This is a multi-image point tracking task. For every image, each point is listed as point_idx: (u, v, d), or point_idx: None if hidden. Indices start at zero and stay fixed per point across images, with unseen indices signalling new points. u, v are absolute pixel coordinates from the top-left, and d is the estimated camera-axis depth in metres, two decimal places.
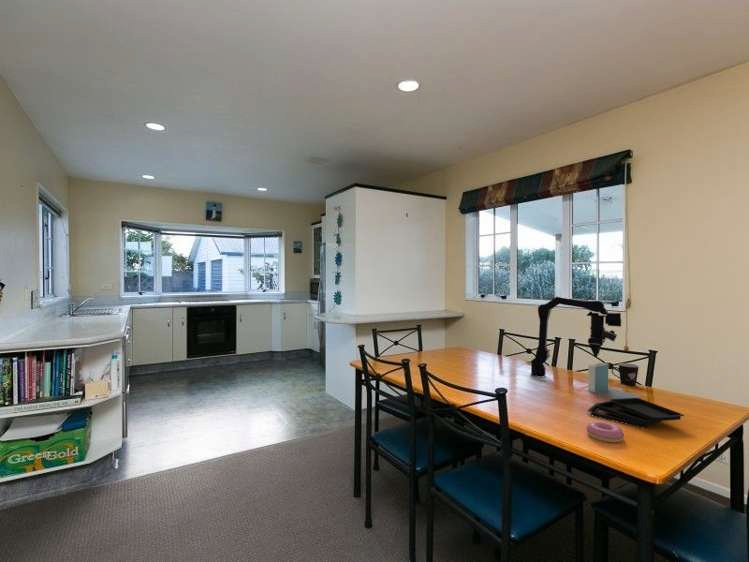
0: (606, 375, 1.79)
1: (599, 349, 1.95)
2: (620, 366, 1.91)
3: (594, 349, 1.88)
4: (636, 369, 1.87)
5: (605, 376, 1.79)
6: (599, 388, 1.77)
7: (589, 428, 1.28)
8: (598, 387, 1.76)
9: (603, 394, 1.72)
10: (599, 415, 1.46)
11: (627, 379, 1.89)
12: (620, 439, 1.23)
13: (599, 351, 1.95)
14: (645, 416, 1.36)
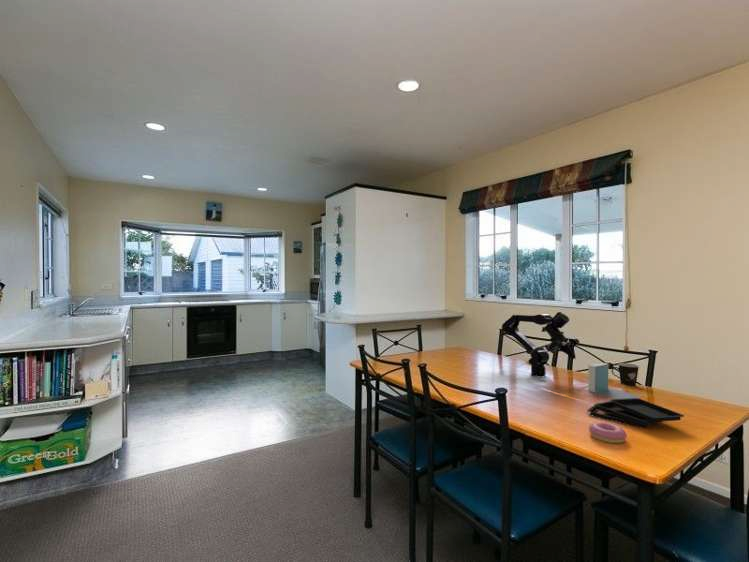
0: (606, 375, 1.79)
1: None
2: (620, 366, 1.91)
3: None
4: (636, 369, 1.87)
5: (605, 376, 1.79)
6: (599, 388, 1.77)
7: (591, 429, 1.28)
8: (598, 387, 1.76)
9: (603, 394, 1.72)
10: (598, 415, 1.46)
11: (627, 379, 1.89)
12: (623, 440, 1.23)
13: None
14: (644, 416, 1.36)
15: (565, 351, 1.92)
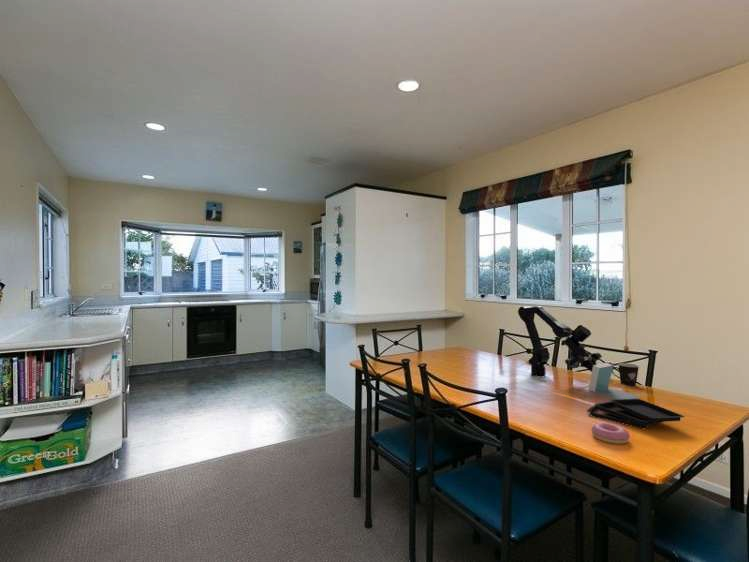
0: (609, 376, 1.78)
1: None
2: (620, 366, 1.91)
3: None
4: (636, 369, 1.87)
5: (607, 377, 1.78)
6: (599, 388, 1.77)
7: (594, 429, 1.27)
8: (599, 387, 1.76)
9: (603, 394, 1.72)
10: (598, 415, 1.46)
11: (627, 379, 1.89)
12: (625, 440, 1.22)
13: None
14: (644, 417, 1.36)
15: (587, 367, 1.82)
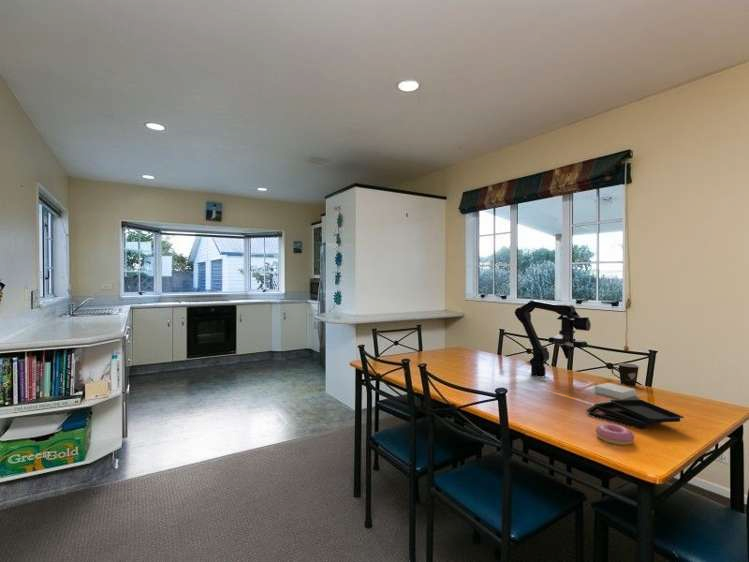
0: None
1: (566, 353, 1.96)
2: (620, 366, 1.91)
3: None
4: (636, 369, 1.87)
5: None
6: None
7: (598, 430, 1.26)
8: None
9: (603, 394, 1.72)
10: (597, 415, 1.46)
11: (627, 379, 1.89)
12: (630, 442, 1.21)
13: (566, 355, 1.96)
14: (642, 417, 1.35)
15: (569, 349, 1.95)
